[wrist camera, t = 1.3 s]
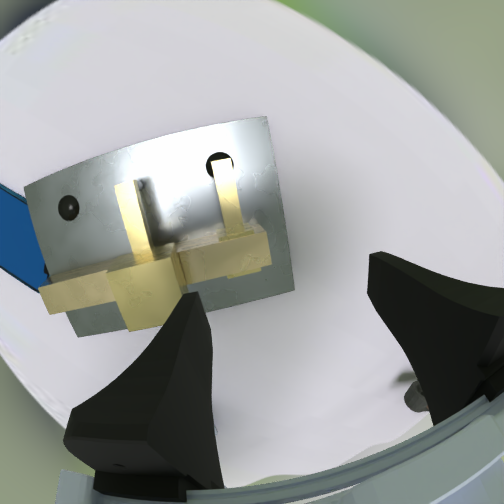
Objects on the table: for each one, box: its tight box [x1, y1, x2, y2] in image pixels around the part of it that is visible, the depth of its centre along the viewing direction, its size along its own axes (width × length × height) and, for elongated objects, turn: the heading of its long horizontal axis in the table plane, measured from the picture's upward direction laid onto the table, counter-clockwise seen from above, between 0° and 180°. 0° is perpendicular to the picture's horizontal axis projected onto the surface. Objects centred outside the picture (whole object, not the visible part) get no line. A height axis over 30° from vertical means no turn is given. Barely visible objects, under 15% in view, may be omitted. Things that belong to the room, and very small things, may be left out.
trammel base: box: [24, 116, 295, 337], centre depth 19 cm, size 14×20×3 cm
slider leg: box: [105, 179, 189, 332], centre depth 17 cm, size 8×4×5 cm, turn 10°
